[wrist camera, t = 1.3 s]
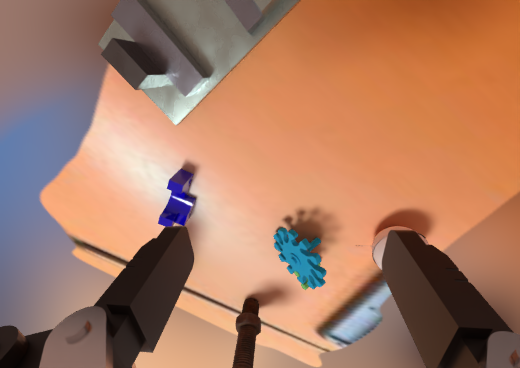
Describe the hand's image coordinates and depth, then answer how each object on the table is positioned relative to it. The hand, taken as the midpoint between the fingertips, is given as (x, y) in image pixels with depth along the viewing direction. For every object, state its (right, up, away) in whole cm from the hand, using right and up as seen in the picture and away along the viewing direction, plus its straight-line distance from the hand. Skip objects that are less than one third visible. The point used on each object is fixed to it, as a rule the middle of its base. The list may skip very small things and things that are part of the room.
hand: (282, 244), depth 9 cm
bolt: (-3, -21, +37) cm, 43 cm away
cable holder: (-13, +1, +27) cm, 30 cm away
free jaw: (-12, +17, +17) cm, 27 cm away
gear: (+3, -7, +30) cm, 31 cm away
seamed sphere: (+18, -5, +26) cm, 32 cm away
